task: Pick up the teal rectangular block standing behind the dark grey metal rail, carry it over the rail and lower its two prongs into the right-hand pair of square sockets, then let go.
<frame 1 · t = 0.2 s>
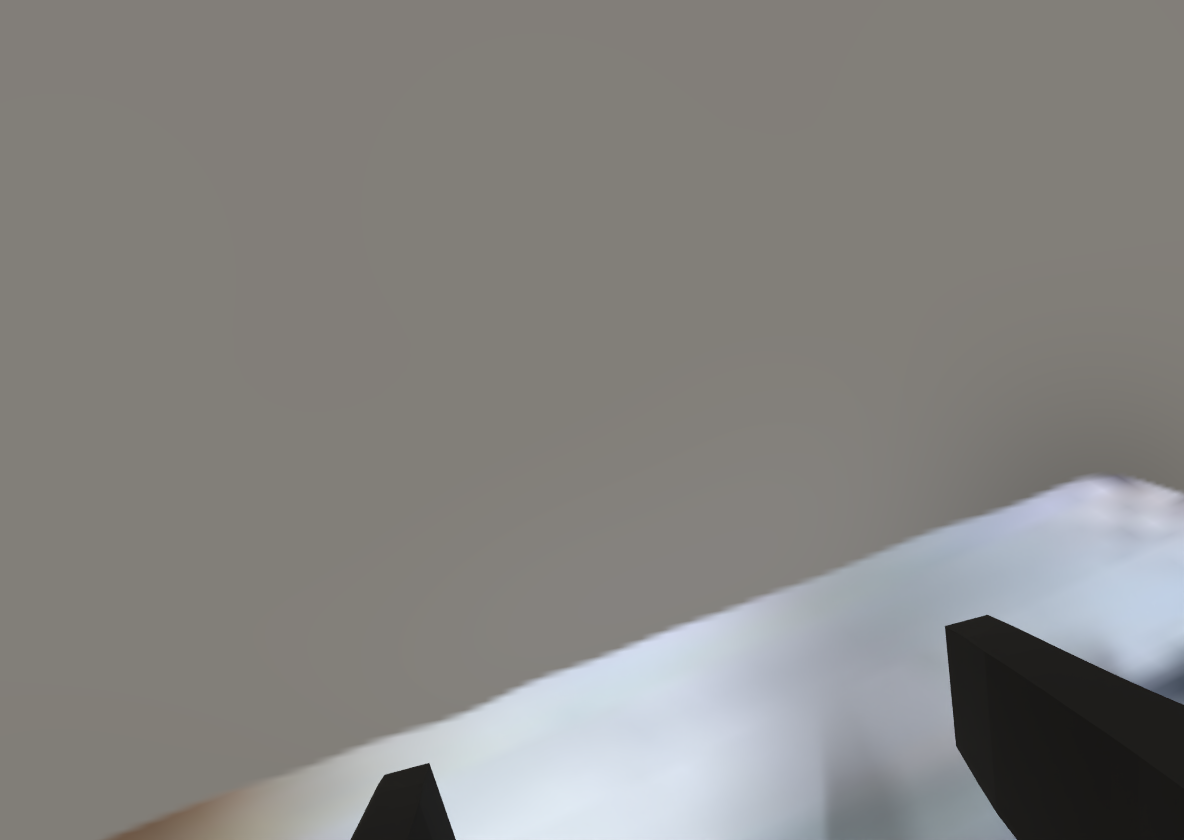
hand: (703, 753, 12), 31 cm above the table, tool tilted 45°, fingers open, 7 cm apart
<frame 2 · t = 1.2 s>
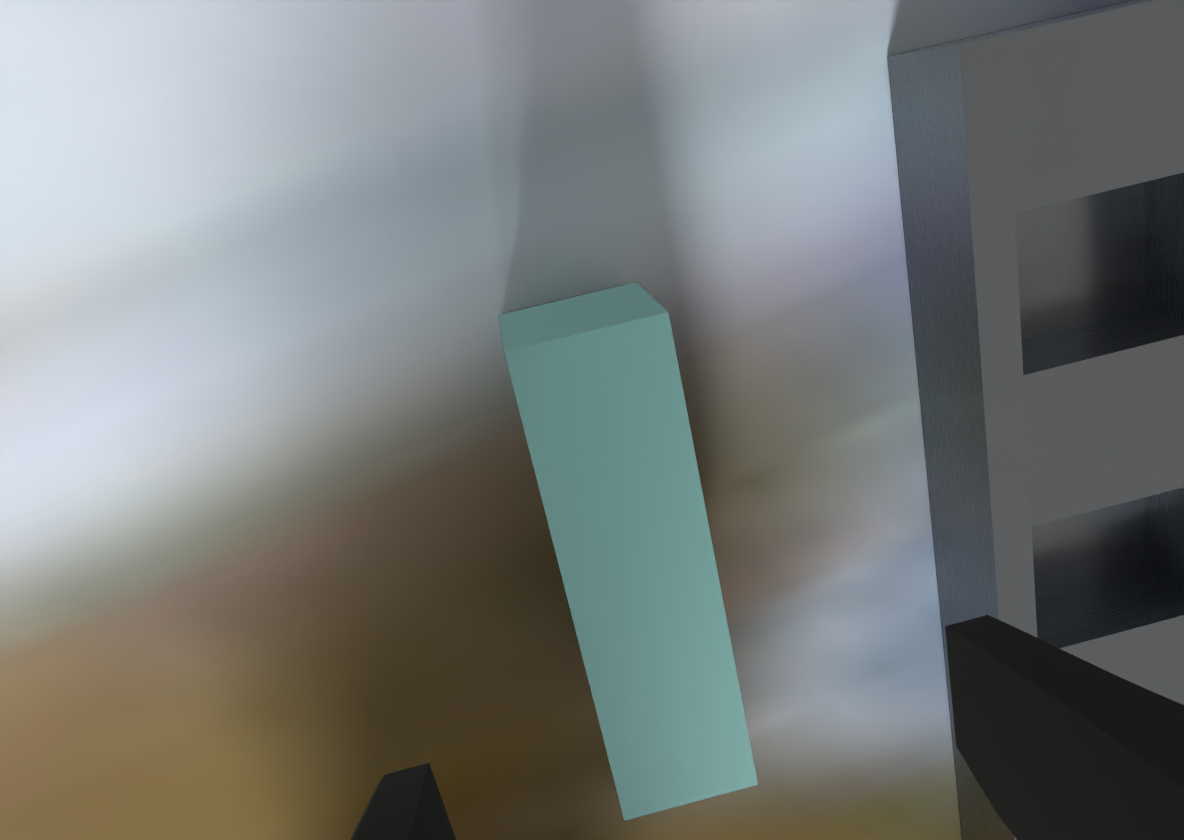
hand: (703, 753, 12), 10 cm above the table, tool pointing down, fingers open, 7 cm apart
rail: (1042, 515, 23), on the table
teal rectangular block: (603, 480, 22), on the table
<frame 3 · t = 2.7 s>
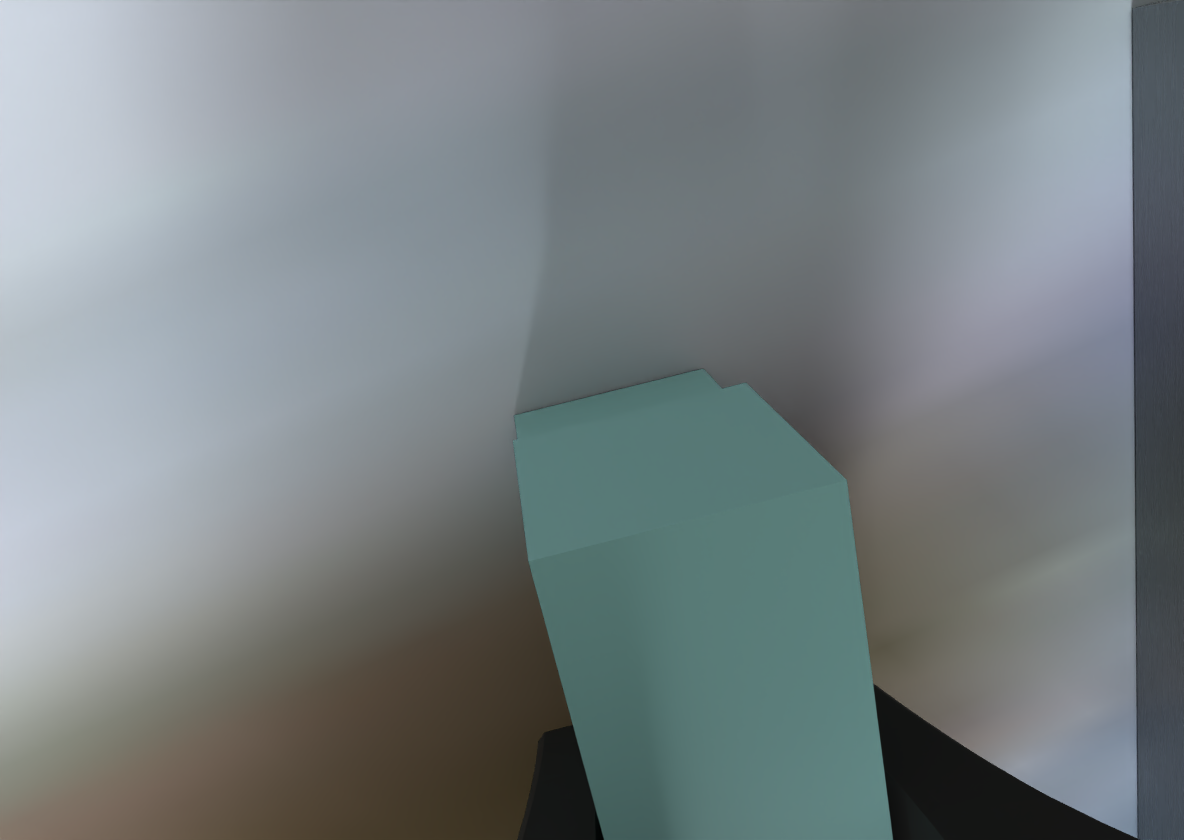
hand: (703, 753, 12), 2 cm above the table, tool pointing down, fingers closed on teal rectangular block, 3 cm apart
teal rectangular block: (666, 652, 14), on the table, touching gripper
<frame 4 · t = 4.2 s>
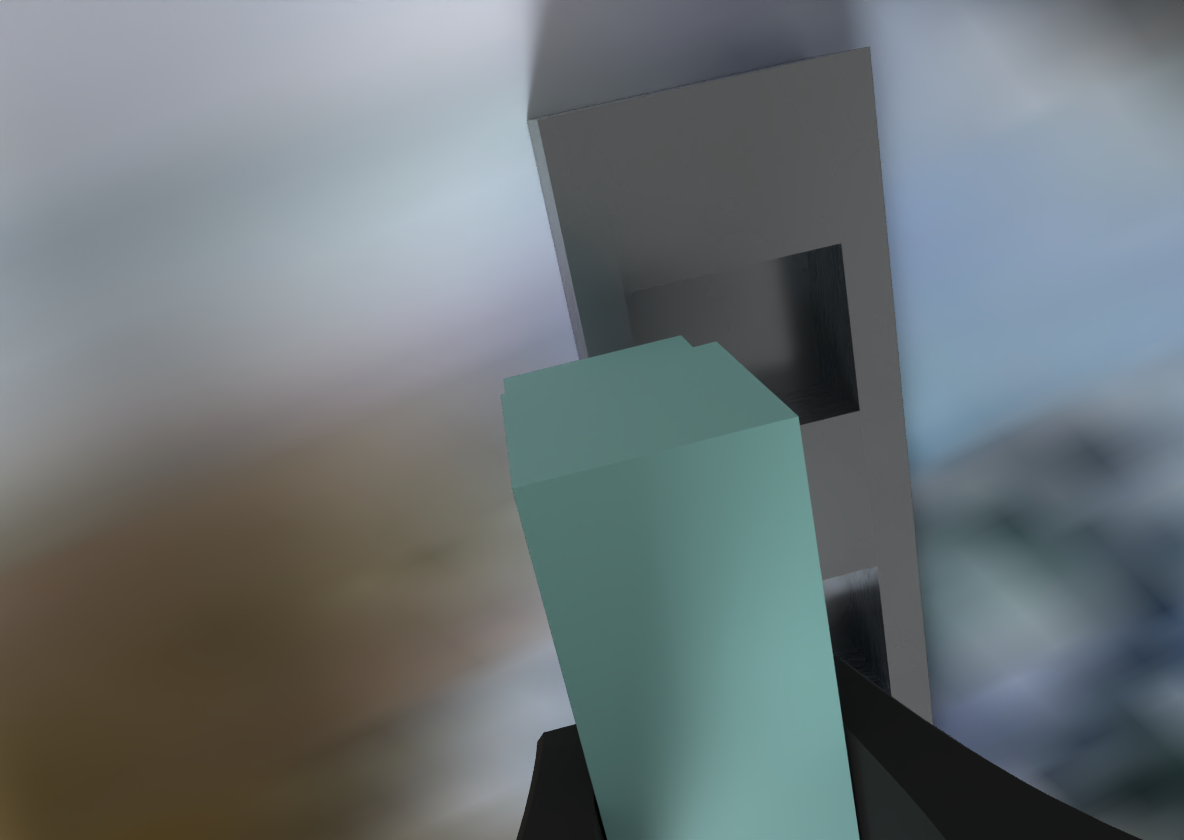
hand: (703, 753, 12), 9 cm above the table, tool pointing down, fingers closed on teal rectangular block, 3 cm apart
rail: (752, 589, 22), on the table
teal rectangular block: (648, 606, 15), point 6 cm above the table, touching gripper
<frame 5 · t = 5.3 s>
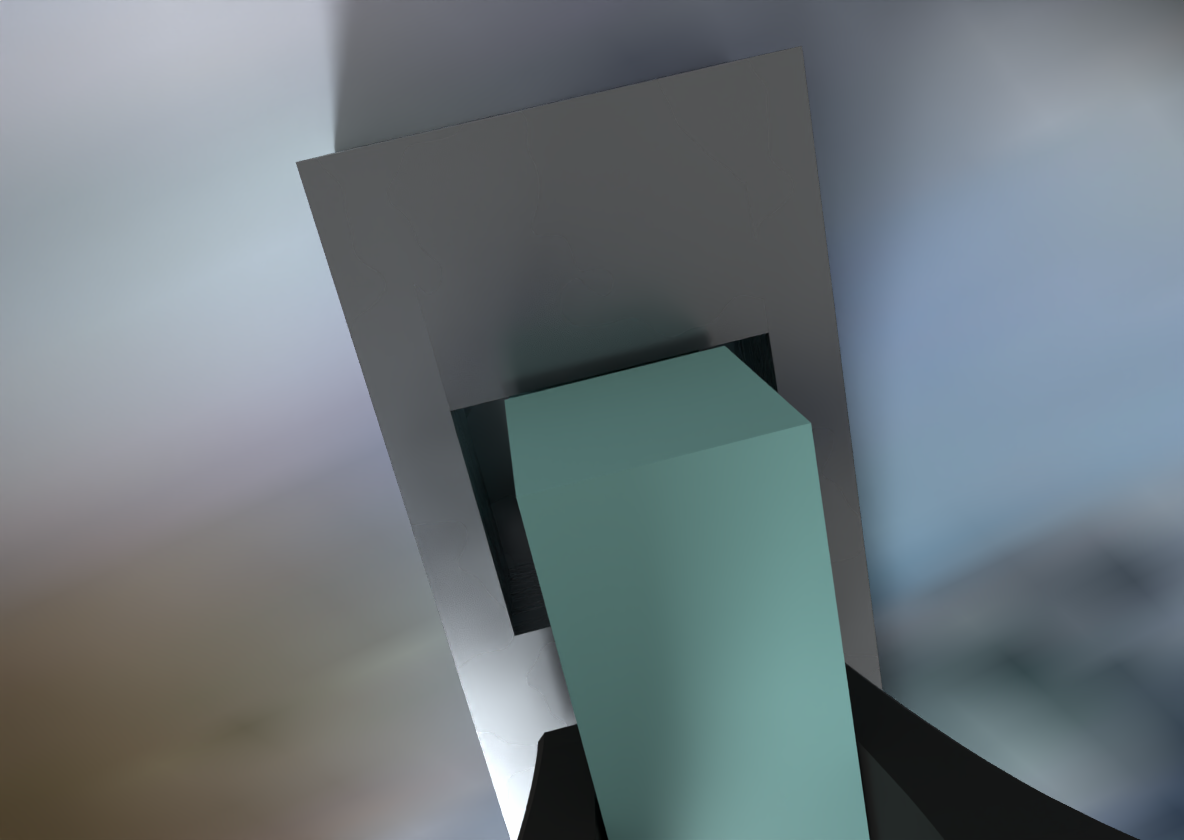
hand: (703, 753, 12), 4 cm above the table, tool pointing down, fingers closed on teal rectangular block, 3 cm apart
rail: (680, 754, 17), on the table
teal rectangular block: (653, 614, 15), point 1 cm above the table, touching gripper, rail
when the fingers open (4 cm above the table, at t = 5.6 s): teal rectangular block stays where it is, resting on rail.
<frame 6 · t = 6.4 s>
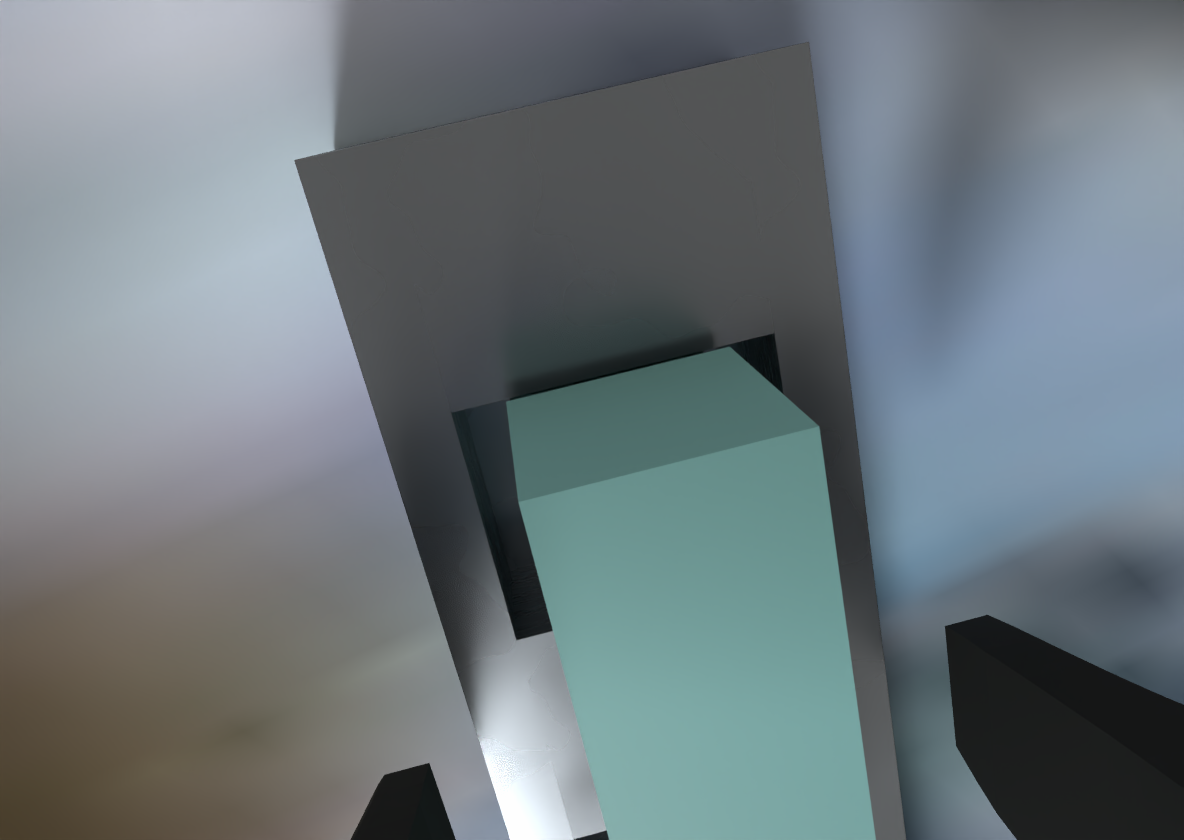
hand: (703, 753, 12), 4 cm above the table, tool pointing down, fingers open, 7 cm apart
rail: (683, 758, 17), on the table
teal rectangular block: (656, 617, 15), point 1 cm above the table, touching rail
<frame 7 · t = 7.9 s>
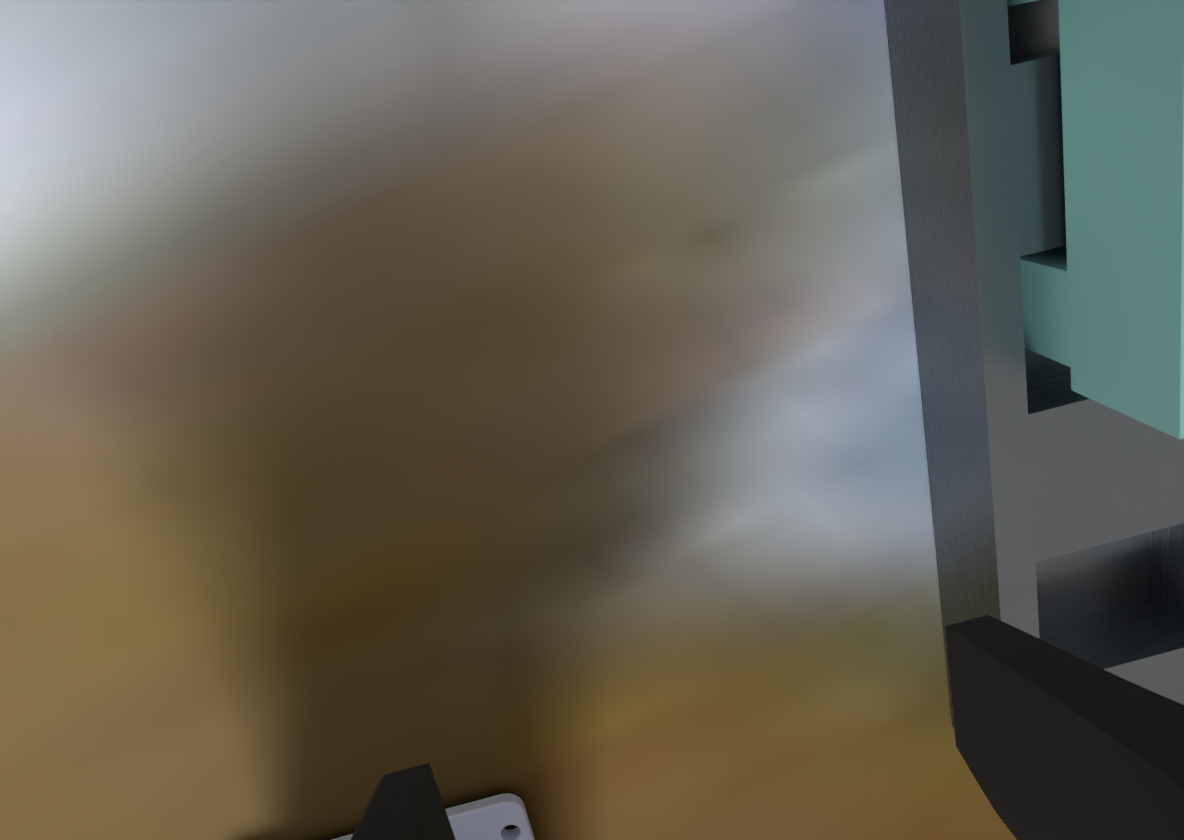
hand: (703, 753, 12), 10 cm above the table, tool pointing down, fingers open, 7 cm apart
rail: (1034, 287, 21), on the table
teal rectangular block: (1055, 123, 19), point 1 cm above the table, touching rail
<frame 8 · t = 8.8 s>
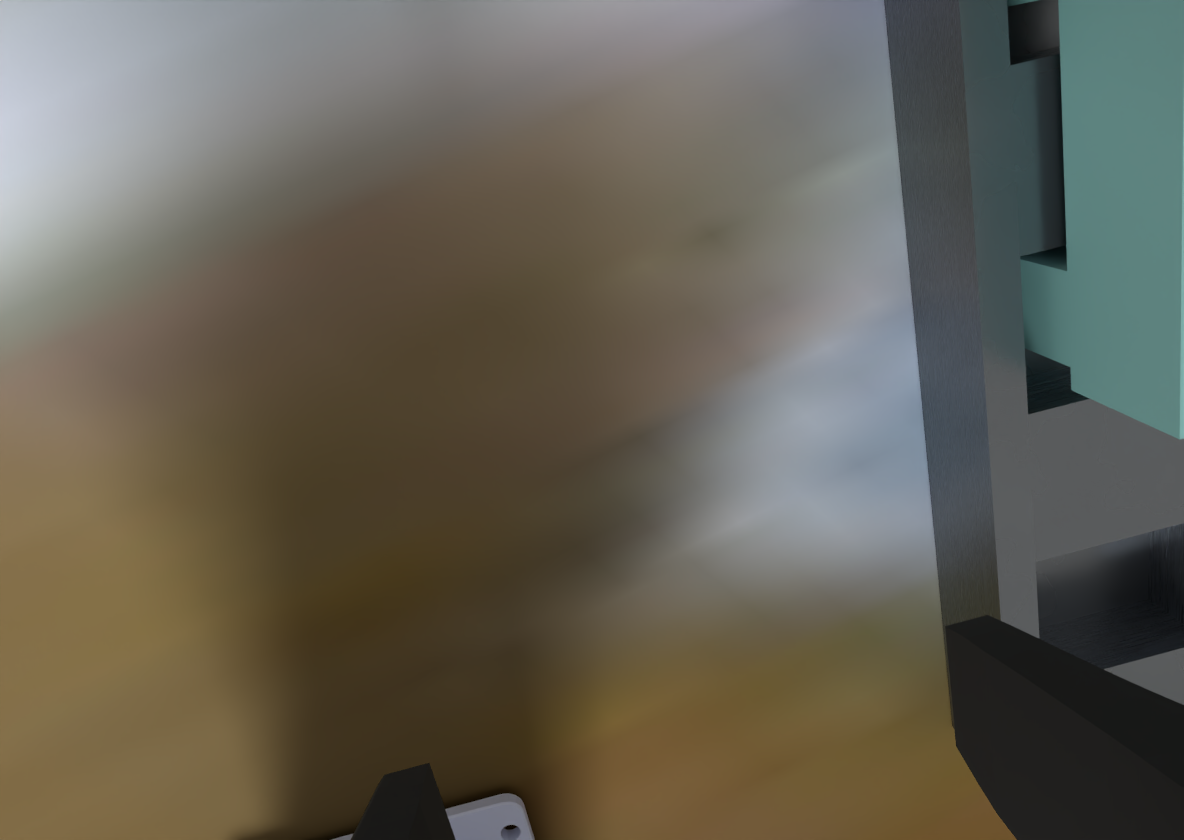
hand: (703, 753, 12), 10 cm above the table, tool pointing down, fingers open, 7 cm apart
rail: (1034, 287, 21), on the table
teal rectangular block: (1055, 123, 19), point 1 cm above the table, touching rail
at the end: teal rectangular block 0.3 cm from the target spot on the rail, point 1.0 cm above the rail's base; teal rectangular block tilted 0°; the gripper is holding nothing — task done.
